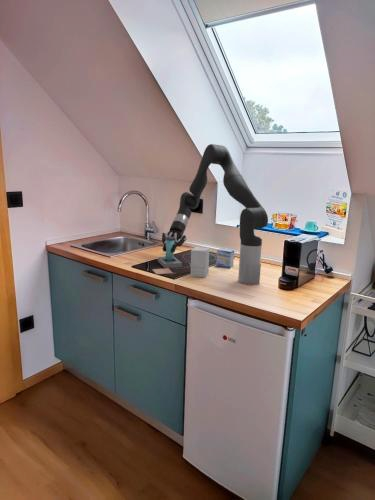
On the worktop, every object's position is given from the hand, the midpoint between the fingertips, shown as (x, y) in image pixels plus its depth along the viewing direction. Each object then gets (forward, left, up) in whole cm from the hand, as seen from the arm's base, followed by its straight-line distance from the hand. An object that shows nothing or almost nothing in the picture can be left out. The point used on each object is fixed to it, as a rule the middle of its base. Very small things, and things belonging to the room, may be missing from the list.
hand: (167, 251), depth 190 cm
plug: (+1, -1, -7) cm, 7 cm away
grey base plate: (+1, -1, -8) cm, 8 cm away
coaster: (-11, +6, -8) cm, 14 cm away
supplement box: (-19, -10, -8) cm, 23 cm away
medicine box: (-8, -28, -8) cm, 30 cm away
